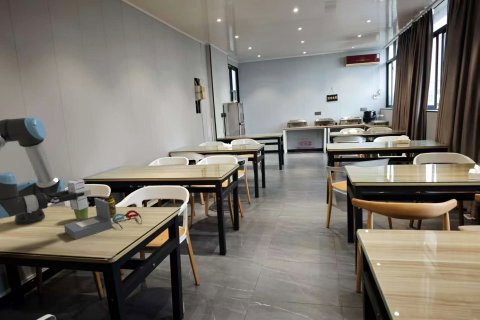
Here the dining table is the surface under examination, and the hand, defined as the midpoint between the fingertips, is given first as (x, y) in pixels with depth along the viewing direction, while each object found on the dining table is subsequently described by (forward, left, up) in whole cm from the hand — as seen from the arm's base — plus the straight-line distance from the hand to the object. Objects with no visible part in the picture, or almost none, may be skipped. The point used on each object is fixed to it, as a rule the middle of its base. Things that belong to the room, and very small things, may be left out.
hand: (87, 190), depth 159 cm
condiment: (-13, +14, -21) cm, 28 cm away
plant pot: (-25, +3, -21) cm, 33 cm away
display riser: (-1, -2, -21) cm, 21 cm away
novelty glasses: (+7, +16, -21) cm, 28 cm away
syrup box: (0, -5, -8) cm, 10 cm away
